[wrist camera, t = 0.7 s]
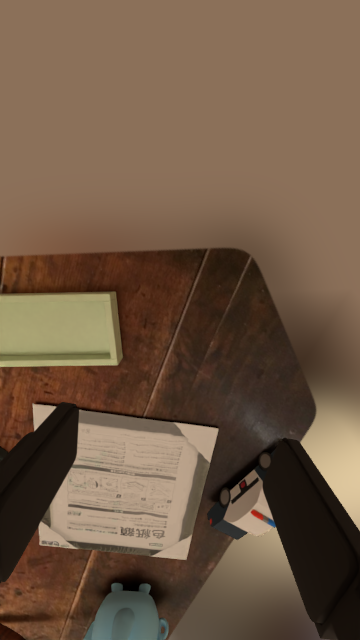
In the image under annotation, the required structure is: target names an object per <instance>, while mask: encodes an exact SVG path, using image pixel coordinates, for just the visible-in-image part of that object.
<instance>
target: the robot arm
mask: <svg viewBox="0 0 360 640" xmlns="http://www.w3.org/2000/svg"><path fill="white" fill-rule="evenodd" d="M78 424H79V408H76V404H71V403H65V402H61V403H60V404H59V405H58V406H57V407H56V408H55V409H54V410H53V412H52V413H51V414H50V415H49V416H48V417H47V418H46V419H45V420H44V421H43V422H42V424H41V425H40V426H39V427H38V428H37V429H36V430H35V431H34V432H30V433H28V434H27V435H25V436H24V437H23V438H22V439H21V440H20V441H19V442H18V443H17V444H16V446H15V447H14V448H13V449H12V450H11V451H10V452H9V453H8V454H7V455H6V456H5V457H4V458H3V459H2V460H1V461H0V583H1V582H5V581H6V580H7V579H8V578H9V576H10V575H11V573H12V572H13V570H14V568H15V566H16V565H17V563H18V561H19V559H20V558H21V556H22V554H23V552H24V551H25V549H26V547H27V545H28V543H29V542H30V540H31V538H32V536H33V535H34V533H35V531H36V529H37V527H38V526H39V524H40V522H41V520H42V519H43V517H44V515H45V513H46V511H47V510H48V508H49V506H50V504H51V503H52V501H53V499H54V497H55V495H56V494H57V492H58V490H59V488H60V487H61V485H62V483H63V481H64V480H65V478H66V476H67V474H68V472H69V471H70V469H71V467H72V465H73V463H74V461H75V459H76V456H77V443H78ZM262 486H263V492H264V495H265V498H266V501H267V503H268V506H269V509H270V512H271V514H272V517H273V520H274V523H275V525H276V528H277V531H278V534H279V536H280V539H281V542H282V545H283V548H284V550H285V553H286V556H287V559H288V561H289V564H290V566H291V570H292V572H293V575H294V578H295V581H296V583H297V586H298V589H299V592H300V595H301V597H302V600H303V603H304V605H305V608H306V611H307V613H308V615H309V617H310V619H311V620H312V621H313V622H314V623H315V625H316V628H317V631H318V633H319V636H320V638H322V639H330V640H360V531H359V530H358V528H357V527H356V525H355V524H354V522H353V521H352V519H351V518H350V516H349V515H348V513H347V512H346V510H345V509H344V507H343V506H342V504H341V503H340V501H339V500H338V498H337V497H336V496H335V494H334V493H333V491H332V490H331V488H330V487H329V485H328V484H327V482H326V481H325V479H324V478H323V476H322V475H321V473H320V472H319V470H318V469H317V468H316V466H315V465H314V463H313V461H312V460H311V458H310V457H309V455H308V454H307V453H306V451H305V450H304V448H303V447H302V445H301V444H300V442H299V441H297V440H294V439H287V438H283V439H282V441H279V443H278V445H277V448H276V450H275V453H274V455H273V458H272V460H271V463H270V465H269V468H268V470H267V473H266V475H265V478H264V480H263V485H262Z"/></svg>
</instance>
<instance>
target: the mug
mask: <svg viewBox="0 0 360 640" xmlns="http://www.w3.org/2000/svg"><path fill="white" fill-rule="evenodd" d="M7 454H8V452H7V451H5V450H4V449H2V448H1V447H0V461H1V460H2V459H3V458H4V457H5V456H6V455H7Z"/></svg>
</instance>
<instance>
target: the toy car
mask: <svg viewBox="0 0 360 640" xmlns="http://www.w3.org/2000/svg"><path fill="white" fill-rule="evenodd" d="M275 450H276V449H275ZM275 450H274V451H273V452H272V453H271V454H269V453H268V452H263V453H261V455H260V457H259V465H260V466H259V465H258V466H257V467H256V468H255V469H254V470H253V471H252V472H250V473H249V474H248V475H247V476H246V477H245V478H244V479H243V480H242V481H240V482H239V483H238V484H237V485H236V486H235V487H234V488H233V489H232V490H230V489H228V488H226V487H225V488H223V489H222V490H221V492H220V501H218V502H217V503H216V504H215V505H214V506H213V507H212V508H211V509H210V511H209V512H208V513H207V515H208V520H210V523H211V526H212V527H213V528H215V529H217V530H219V531H221V532H223V533H225V534H227V535H229V536H231V537H233V538H235V539H240V538H241V537H243V536H244V535H246V534H247V533H250V534H252V535H255V536H261V535H263V534H265V533H267V532H268V531H269V530H271V529H272V528H273V527H274V528H275V527H276V525H275V523H274V520H273V517H272V514H271V512H270V509H269V506H268V503H267V501H266V498H265V495H264V492H263V486H262V485H263V480H264V478H265V475H266V473H267V470H268V468H269V465H270V463H271V460H272V458H273V455H274V453H275Z"/></svg>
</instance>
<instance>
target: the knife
mask: <svg viewBox="0 0 360 640" xmlns="http://www.w3.org/2000/svg"><path fill="white" fill-rule="evenodd" d="M0 640H25V639H24V638H23V637H22V636H21V635H19V634H18V633H16V632H15V631H13V630H12V629H10V628H8V627H7V626H4V625H3V624H1V623H0Z"/></svg>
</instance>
